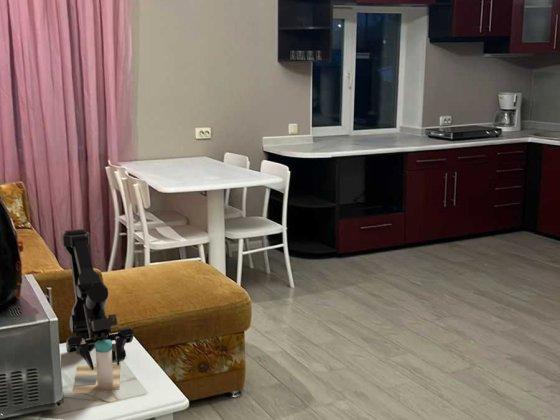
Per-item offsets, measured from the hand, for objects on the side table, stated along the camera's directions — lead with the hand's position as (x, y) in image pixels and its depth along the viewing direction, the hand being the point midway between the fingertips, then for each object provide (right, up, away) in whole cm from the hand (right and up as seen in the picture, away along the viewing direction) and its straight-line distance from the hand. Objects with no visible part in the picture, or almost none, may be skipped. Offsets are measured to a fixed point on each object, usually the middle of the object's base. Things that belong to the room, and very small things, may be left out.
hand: (105, 367), depth 193 cm
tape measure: (-2, -2, +23) cm, 23 cm away
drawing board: (-4, -5, +7) cm, 10 cm away
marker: (-1, -6, +3) cm, 6 cm away
